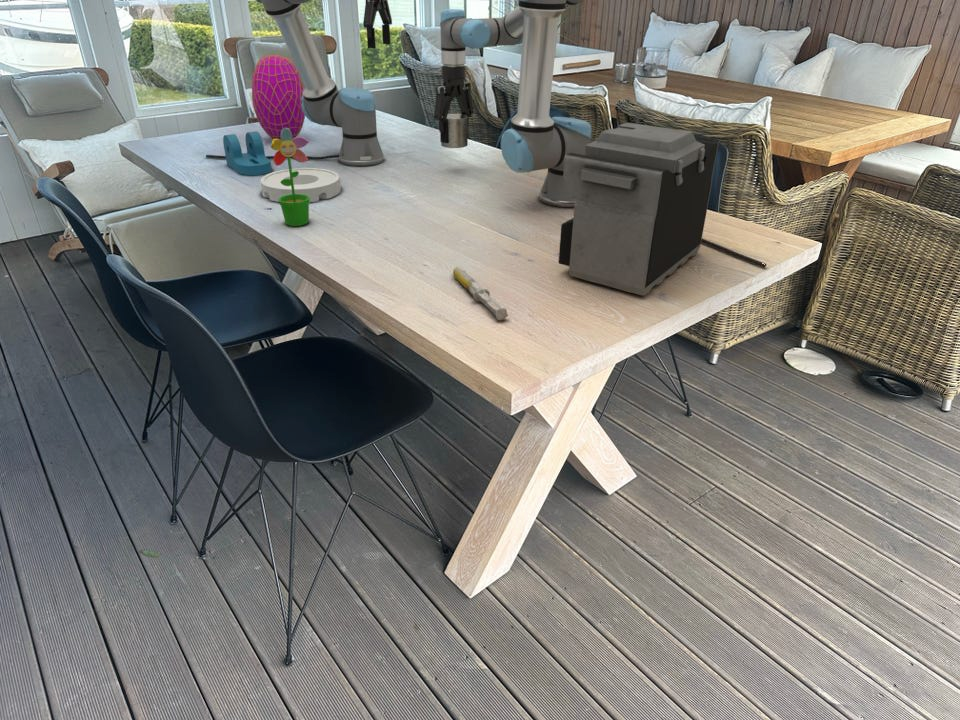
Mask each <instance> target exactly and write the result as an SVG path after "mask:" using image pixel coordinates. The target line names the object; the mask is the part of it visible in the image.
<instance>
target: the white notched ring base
mask: <svg viewBox="0 0 960 720" xmlns="http://www.w3.org/2000/svg"><path fill="white" fill-rule="evenodd" d="M294 171H297V172H299V174H298V175H297V176H296V177H294V178H293V183H294V191H295V194H304V195H307V196H309V203H315V202H319V201H320V200H328V199H332V198H333V197H335V196H337V195H339V194H340V193H341V190H342V188H341V187H342V185H341V176H340V174H339V173H338V172H336V171H333V170H330V169H326V168H318V167H295V168H292V172H294ZM283 179H290V173H289V168H287V169H281V170H277V171H276V170H275V171H273V172H272V171H271V172H269V173H266V174H264V175H263V176H262V177H261V178H260V187H261V188H260V189H261V194H262V196H263V198H266V199H267V198H268V199H269V201H272V202H276V203H279V198H280V197H282V196H285V195H290V194H292V188H291V186H284V185H282V184H281V181H282V180H283Z"/></svg>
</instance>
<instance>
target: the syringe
mask: <svg viewBox="0 0 960 720" xmlns="http://www.w3.org/2000/svg"><path fill="white" fill-rule="evenodd" d="M452 274H453V277H454V279H455V280H457V281H458V282H459V283H460V285H462V287H464V289H466V290H467V291H468V293H470V295H471V296H472V298H473V300H474V302H477V303H478V302H480V303H482V304H483V305H484V306H485V307H486V308H487V309H488V310H489V311H490V312H491V313H492V314H493V315H494V316H495V317H496V320H497V321H503V320H504V319H506V318H507V317H509V314H508V310H507V308H506V307H502V306H501V305H500V303H498V302H497V301H496V300H494V299H493V298H492V297H491V296H490V295H491V293H490V290H488V289H486V288H483V287H482V286H481V285H480V284H479V283H478V282H477V281H476V280H474V278H473V277H471V275H469V274H468V273H467V272H466V270H465V269H464V268H463V267H462V266H456V267H454V268H453V271H452Z"/></svg>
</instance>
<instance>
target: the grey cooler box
mask: <svg viewBox="0 0 960 720" xmlns="http://www.w3.org/2000/svg"><path fill="white" fill-rule="evenodd" d="M719 144H720V143H719V141H715V140H708V139H701V138H697V137H695V134H694V132H693V131H689V130H681V129H675V128H668V127H661V126H654V125H649V124H640V123H633V122H624V123H622V124H619V125H618V126H617V127H616V128H609V129H606V130H604V131H601V132H600V134H599V135H598V136H597V138H596V139H595V140H594V141H591V143H590V144H587V145H586V148H585V155H580V154H575V153H569V154H567V155H565V159H564V173H563V178H564V179H565V181H566V183H567V184H568V186H569V188H570V189H571V191H572V193H573V195H574V196H575V198H576V201H575V206H574V207H573V217H572V218H570V219H568V220H567V221H565V222H563V223H561V226H560V239H559V251H558V264H559V265H563V266H566V267H568V268H569V269H568V274H569V276H570V277H574V278H577V279H580V280H584V281H588V282H591V283H595V284H598V285H602V286H606V287H609V288H613V289H617V290H619V291H624V292H627V293H631V294H634V295H638V296H643V297H644V296H647V295H648V294H649V293H650V292H651V290H652V289H653V288H654V287H655V286H659V285H660V284H661V283H662V282H663V281H664V279H665V278H666V277H667V276H671V275H672V274H673V273H675V272H676V270H677V269H678V267H679V266H680V267H681V266H683V265H684V264H686V263H687V261H688V260H689V258H693V257H694V256H695V255H696V254H697V253H698V252H699V251H700V248H701V244H702V242H701V240H702V239H703V235H704V228H705V222H706V218H707V212H708V208H709V203H710V202H709V201H710V196H711V191H712V186H713V185H712V184H713V177H714V171H715V165H716V160H717V154H718V148H719Z"/></svg>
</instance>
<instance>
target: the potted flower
mask: <svg viewBox="0 0 960 720" xmlns="http://www.w3.org/2000/svg"><path fill="white" fill-rule="evenodd" d="M280 136H281V140H282V141H281V140H279V139H273V138H272V141H271V145H270V148H271V149H272V150H274V151H275V153H274V155H273V156H274V158H273V159H272V160H273V163H274V165H275V167H277V166H282V164H283V163H285V161H286V159H287V164H288V165H287V166H288V169H289V173H290V179H283V180H282V181H281V184H282V185H284V186H291V188H292V194H290V195H285V196H282V197H280V198H279V202H278V203H279V205H280V207H281V210H282V215H283V219H284V223H285V225H287V226H290V227H291V226H292V227H301V226H304V225H306V224H309V222H310V206H309V205H310V202H309V196H307V195H304V194H295V191H294V183H293V178H294V177H296V176H297V175H298V174H299V172H297V171H294V172H292V169H293V168H292V162H291V161H292V160H291V159H293V160H294V161H296V162H297V163H307V162H309V159H308V158H307V156H308V155H306V153H305V152H303V150H301V148H303V147H305V146H306V145H308V144H309V143H310V140H308V139H307V138H306V137H303V136H299V135H298V136H296V137H295V138H293V139H292V134H291V131H290V130H289V129H288V128H284V129H283V130H282V131H281V134H280ZM286 157H287V158H286ZM290 157H292V158H290Z"/></svg>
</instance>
